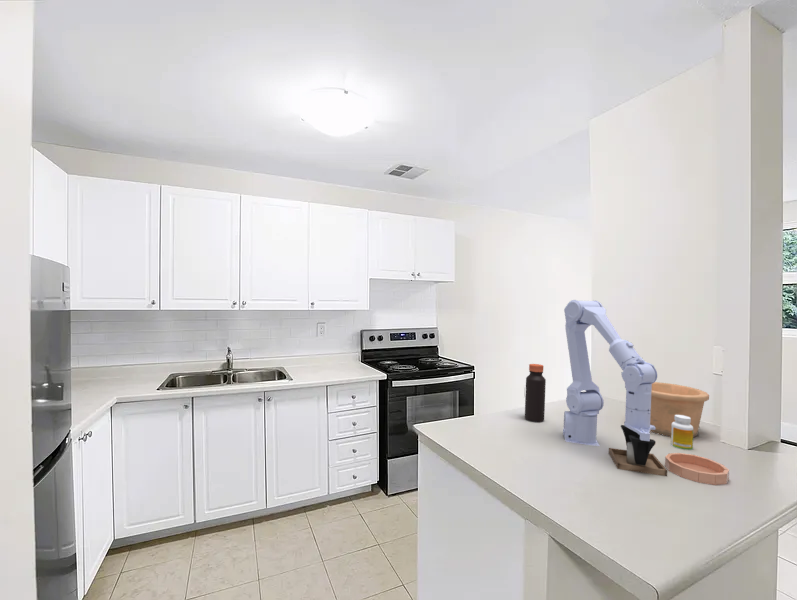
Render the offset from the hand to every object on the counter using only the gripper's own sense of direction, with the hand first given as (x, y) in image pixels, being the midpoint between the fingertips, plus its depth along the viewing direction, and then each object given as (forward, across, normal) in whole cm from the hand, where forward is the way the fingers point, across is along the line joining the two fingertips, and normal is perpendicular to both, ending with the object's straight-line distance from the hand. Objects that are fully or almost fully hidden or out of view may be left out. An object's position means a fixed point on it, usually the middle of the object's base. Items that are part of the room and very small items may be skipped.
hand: (636, 458), depth 103 cm
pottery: (+2, +39, -19) cm, 43 cm away
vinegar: (+2, +31, +25) cm, 40 cm away
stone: (+1, 0, 0) cm, 1 cm away
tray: (+2, 0, 0) cm, 2 cm away
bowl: (+2, 0, -14) cm, 14 cm away
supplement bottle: (+2, +20, -17) cm, 26 cm away
